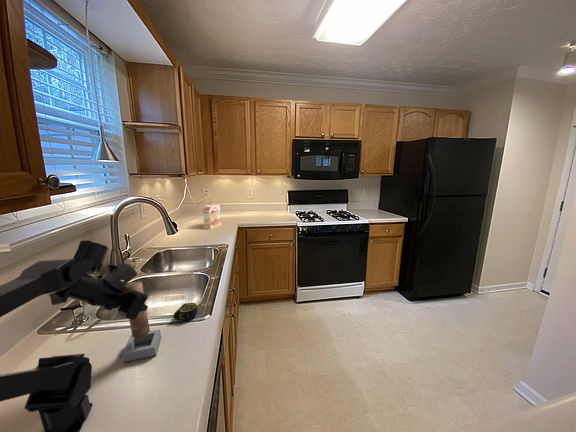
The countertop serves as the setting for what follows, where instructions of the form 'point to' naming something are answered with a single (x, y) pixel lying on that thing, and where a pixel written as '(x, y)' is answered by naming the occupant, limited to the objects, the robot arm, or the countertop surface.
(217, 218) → the coffeecake box
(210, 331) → the countertop surface
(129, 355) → the pocket block
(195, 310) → the tape measure
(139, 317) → the peg
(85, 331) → the countertop surface
